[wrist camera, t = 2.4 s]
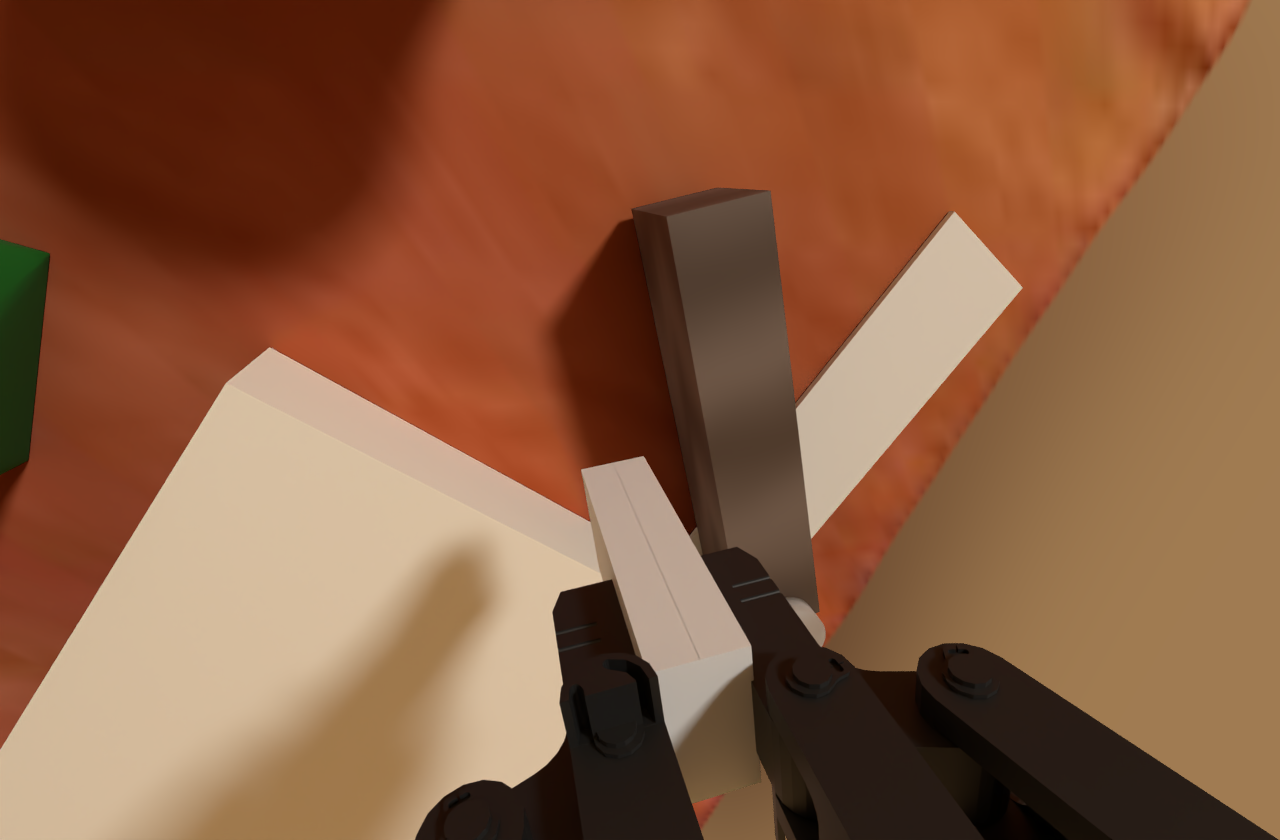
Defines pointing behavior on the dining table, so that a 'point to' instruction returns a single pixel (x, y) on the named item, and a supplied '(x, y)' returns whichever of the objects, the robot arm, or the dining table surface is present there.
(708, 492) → the dark grey block
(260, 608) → the cream flat square box
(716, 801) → the dining table surface
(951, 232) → the mat
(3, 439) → the milk carton
